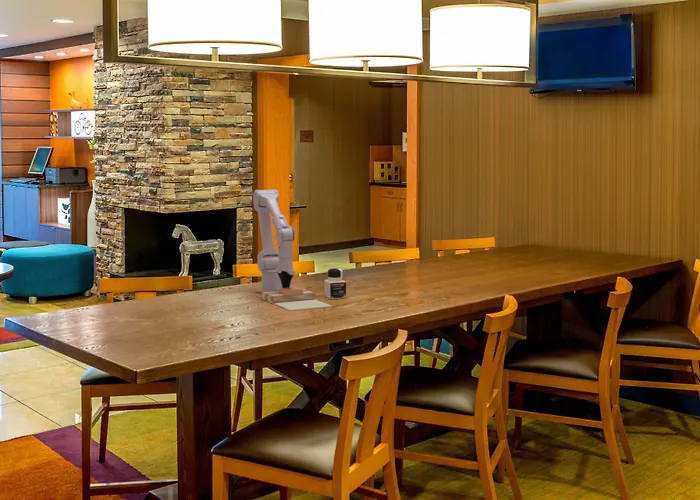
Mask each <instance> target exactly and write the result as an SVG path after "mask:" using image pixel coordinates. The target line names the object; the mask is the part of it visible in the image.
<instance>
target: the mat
mask: <svg viewBox="0 0 700 500" xmlns="http://www.w3.org/2000/svg"><path fill="white" fill-rule="evenodd" d="M273 305H275V306H278V307H280V308H282V309H285V310H286V311H289V312H296V311H303V310H313V309H316V310H317V309H323V308H332V307H333V305H330V304H328V303H326V302H324V301H323V302H322V301H320V300H318V299H315V300H304V301H294V302H283V303H274V304H273Z"/></svg>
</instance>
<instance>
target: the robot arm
mask: <svg viewBox="0 0 700 500" xmlns="http://www.w3.org/2000/svg"><path fill="white" fill-rule="evenodd" d="M279 196H280V193H279V191H278V190H277V189H276V188H274V189H255V190H254V191H253V194H252V201H253V202H252V203H253V208H254V211H256V212H257V214H258V221H259V222H258V223H259V229H260V236H261V245H262V249H261V251H259V253H258V254H257V256H256V257H257V258H256V259H257V261H256V262H257V263H256V265H257V269H258V271H259V272H261V289H260V290H258V291H257V292H258V293H260V294H261V291H272V290H279V288H290V287H291V282H292V280H293V277H294V276H295V275H296V270H295V269H294V267H293V266H294V265H293V242H294V241H295V239H296V238H295V237H296V234H295V230H294V228H293V227H291V226H290V225H289V224H288V220H287V218H286V216H285V215H284V214H282V213H281V210H280V207H279V199H280V197H279ZM271 216H272V218H271ZM271 219H272V220H271ZM272 225H273V227H272ZM273 228H274V230H275V231H276V232H275V239H276V245H277V247H278V249H276V248H275V244H274V237H273Z"/></svg>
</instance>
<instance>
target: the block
mask: <svg viewBox="0 0 700 500" xmlns="http://www.w3.org/2000/svg"><path fill="white" fill-rule="evenodd" d="M303 289H304V288H302V287H299V286H292V287H291V286H290V287H289V288H279V293H280V294H282V295H297V294H303Z"/></svg>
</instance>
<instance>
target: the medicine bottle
mask: <svg viewBox="0 0 700 500" xmlns="http://www.w3.org/2000/svg"><path fill="white" fill-rule="evenodd" d="M323 283H324V298H326V299H329V300H337V299H338V300H339V299H346V298H347V281H346V280H343V270H342V269H341V268H334V267H333V268H330V269H328V270H327V279H324V282H323Z"/></svg>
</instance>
